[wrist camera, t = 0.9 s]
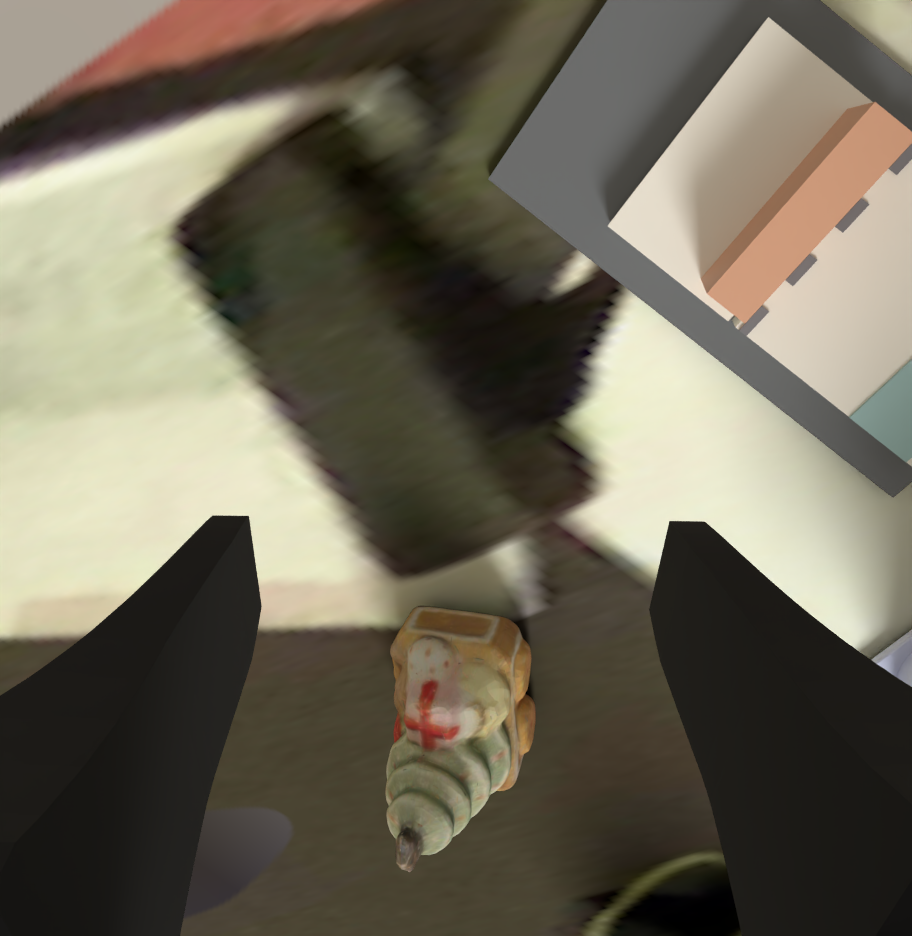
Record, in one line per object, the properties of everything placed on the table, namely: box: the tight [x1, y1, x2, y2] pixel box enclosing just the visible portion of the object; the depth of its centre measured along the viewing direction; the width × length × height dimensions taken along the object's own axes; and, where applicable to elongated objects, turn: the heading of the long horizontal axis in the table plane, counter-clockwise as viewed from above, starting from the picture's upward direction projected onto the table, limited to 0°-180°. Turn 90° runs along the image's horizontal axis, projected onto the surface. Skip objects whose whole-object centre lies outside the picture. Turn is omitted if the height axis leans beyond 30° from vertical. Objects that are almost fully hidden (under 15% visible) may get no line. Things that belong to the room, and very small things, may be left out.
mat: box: [488, 0, 912, 497], centre depth 24 cm, size 18×10×1 cm, turn 55°
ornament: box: [386, 606, 535, 872], centre depth 30 cm, size 8×6×10 cm
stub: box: [608, 17, 912, 324], centre depth 22 cm, size 5×7×4 cm
